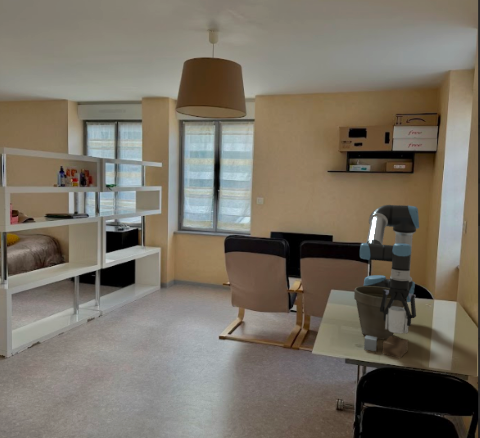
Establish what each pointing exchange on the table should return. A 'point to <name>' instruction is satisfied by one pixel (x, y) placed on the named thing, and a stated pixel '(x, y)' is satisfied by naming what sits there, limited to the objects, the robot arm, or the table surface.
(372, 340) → the grey cube
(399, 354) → the walnut block
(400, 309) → the white cup
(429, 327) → the table surface
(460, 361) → the table surface
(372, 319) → the plant pot
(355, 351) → the table surface
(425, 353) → the table surface
